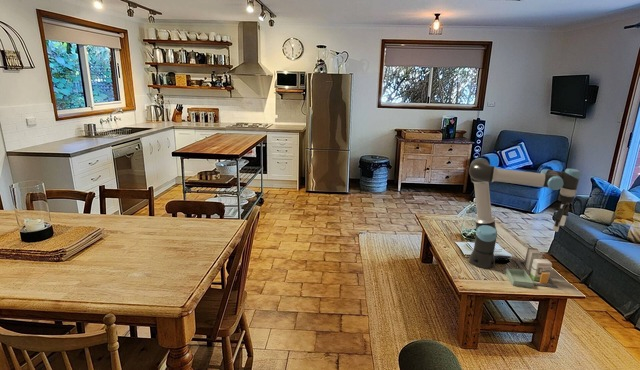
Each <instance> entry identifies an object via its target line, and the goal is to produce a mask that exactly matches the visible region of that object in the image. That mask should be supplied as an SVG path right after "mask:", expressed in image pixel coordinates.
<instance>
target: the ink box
mask: <svg viewBox="0 0 640 370" xmlns="http://www.w3.org/2000/svg"><path fill="white" fill-rule="evenodd" d="M552 267H553V263H552V262H551V261H550V260H549V259H547V258H542V259H533V264H532V269H531V272H529V273H530V274H529V276H530V277H531V279H532V281H533V282H534V281H536V282H540V278H541V274H542V273H549V276H550V275H551V271H552ZM550 277H551V276H550ZM548 281H549V278H548Z"/></svg>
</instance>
